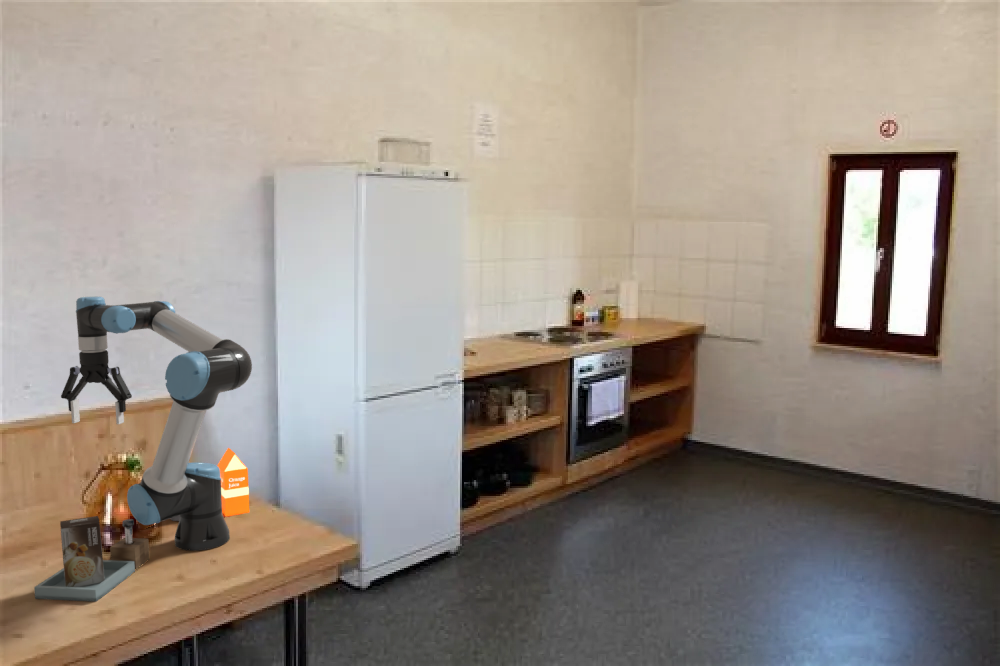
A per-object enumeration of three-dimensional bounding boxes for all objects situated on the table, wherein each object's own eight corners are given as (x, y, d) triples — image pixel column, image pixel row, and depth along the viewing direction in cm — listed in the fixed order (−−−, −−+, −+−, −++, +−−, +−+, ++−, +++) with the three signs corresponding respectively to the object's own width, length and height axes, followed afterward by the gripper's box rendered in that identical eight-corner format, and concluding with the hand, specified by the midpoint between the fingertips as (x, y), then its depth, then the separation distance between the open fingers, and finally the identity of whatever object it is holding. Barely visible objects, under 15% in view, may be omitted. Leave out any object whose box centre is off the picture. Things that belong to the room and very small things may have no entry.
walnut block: (149, 559, 235) (148, 538, 234) (136, 569, 228) (134, 548, 227) (125, 558, 236) (124, 537, 235) (111, 568, 229) (110, 547, 228)
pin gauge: (138, 562, 233) (135, 519, 232) (132, 566, 230) (130, 522, 229) (128, 561, 233) (126, 518, 232) (123, 565, 231) (120, 522, 229)
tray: (134, 572, 227) (134, 561, 226) (96, 601, 209) (95, 589, 208) (78, 569, 228) (77, 558, 228) (35, 598, 210) (34, 587, 210)
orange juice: (242, 504, 281) (240, 445, 279) (250, 512, 274) (247, 451, 271) (218, 508, 277) (215, 449, 274) (225, 516, 270) (222, 455, 267)
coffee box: (103, 573, 223) (99, 514, 221) (104, 582, 218) (100, 522, 216) (64, 580, 219) (60, 520, 217) (64, 590, 214) (60, 528, 212)
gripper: (141, 349, 247) (145, 420, 250) (60, 348, 249) (65, 418, 252) (127, 353, 240) (131, 426, 242) (44, 351, 242) (49, 424, 245)
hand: (98, 422), depth 247 cm, fingers open, 13 cm apart
